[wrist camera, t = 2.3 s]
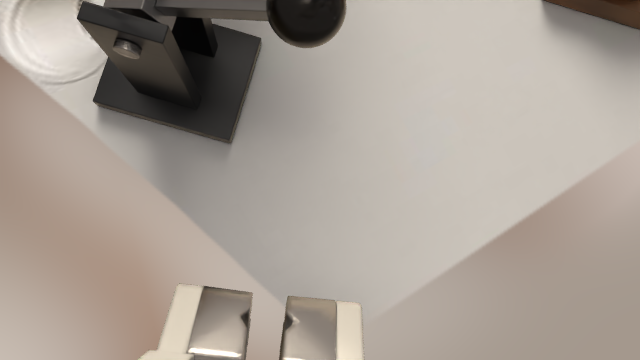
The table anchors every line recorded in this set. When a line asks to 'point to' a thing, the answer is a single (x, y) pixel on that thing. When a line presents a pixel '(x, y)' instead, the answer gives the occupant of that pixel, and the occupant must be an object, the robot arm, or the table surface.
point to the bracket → (173, 70)
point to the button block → (607, 9)
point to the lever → (250, 15)
